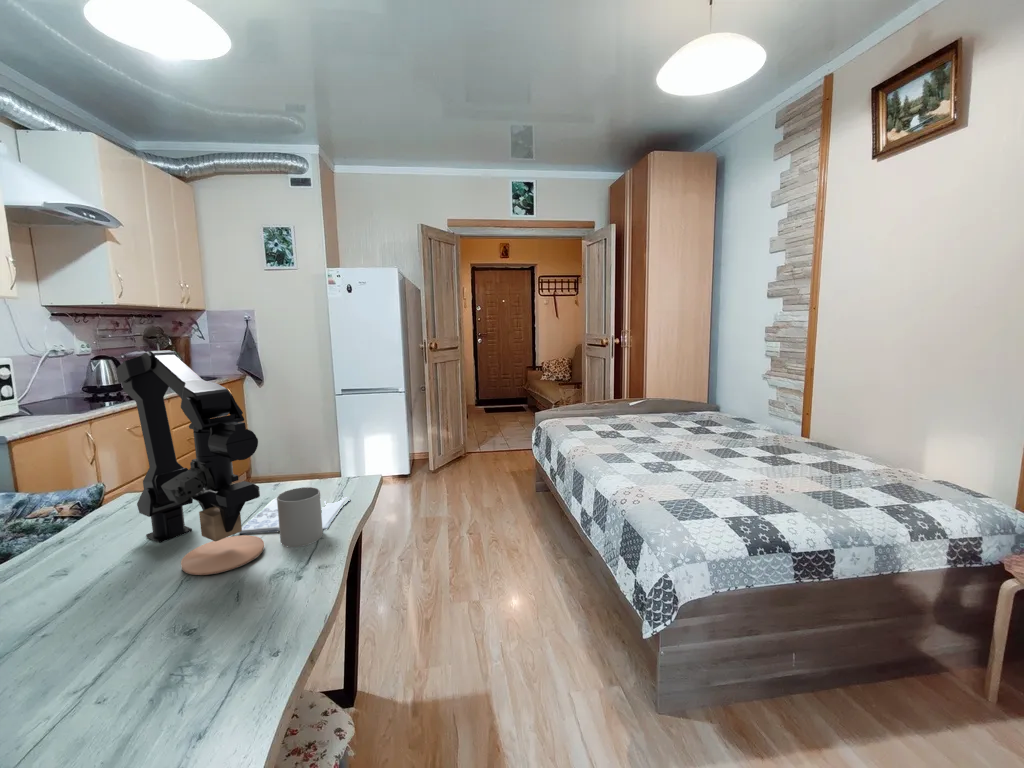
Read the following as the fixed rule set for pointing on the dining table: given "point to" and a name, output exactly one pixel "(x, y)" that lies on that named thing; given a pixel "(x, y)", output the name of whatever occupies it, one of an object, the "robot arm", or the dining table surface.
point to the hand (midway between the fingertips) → (221, 528)
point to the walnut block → (216, 524)
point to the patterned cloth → (270, 521)
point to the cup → (299, 516)
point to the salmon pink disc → (222, 555)
